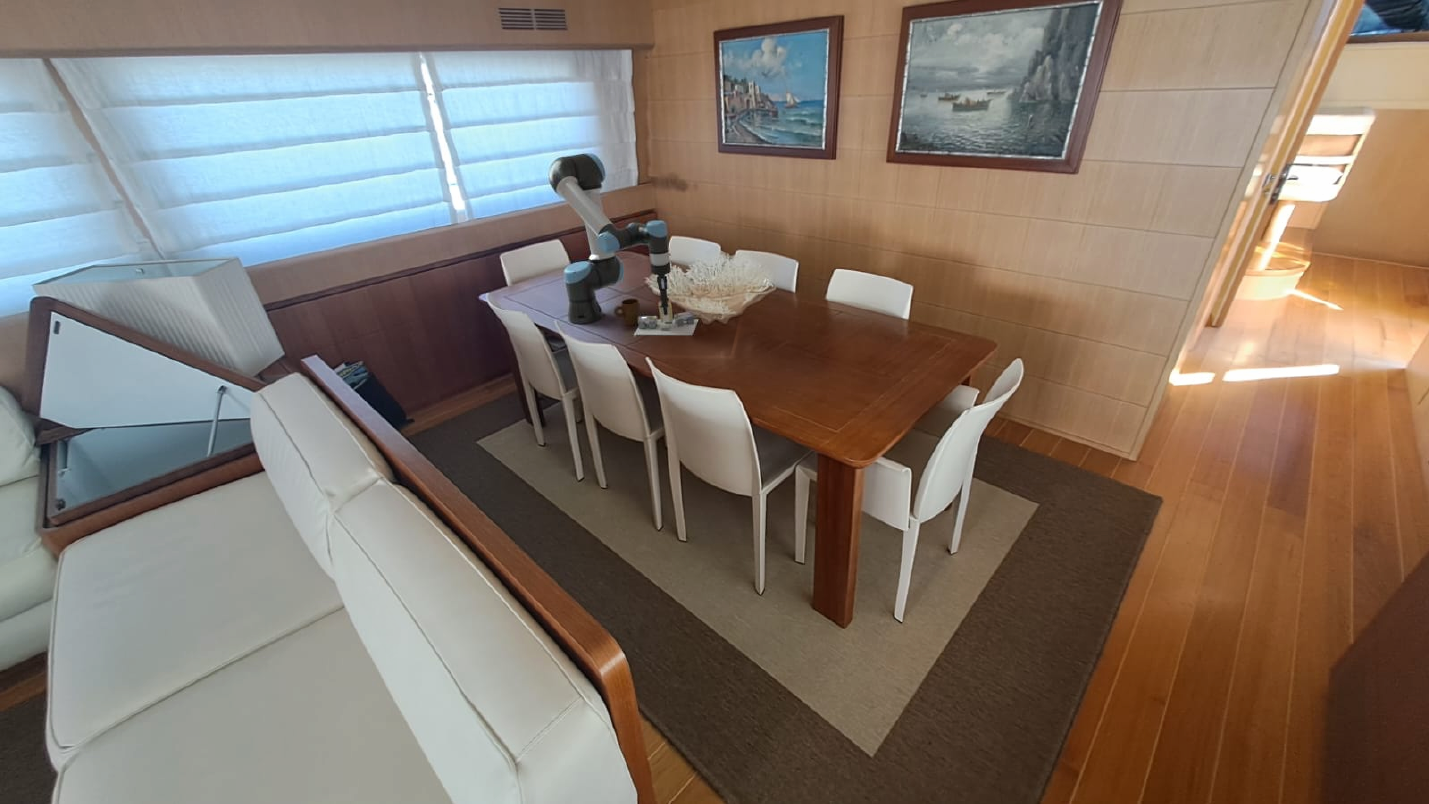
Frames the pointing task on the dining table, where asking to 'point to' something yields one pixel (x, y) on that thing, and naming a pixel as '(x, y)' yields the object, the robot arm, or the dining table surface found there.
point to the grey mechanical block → (647, 322)
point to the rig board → (668, 329)
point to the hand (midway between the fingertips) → (666, 318)
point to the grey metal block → (684, 318)
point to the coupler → (669, 312)
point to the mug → (629, 311)
